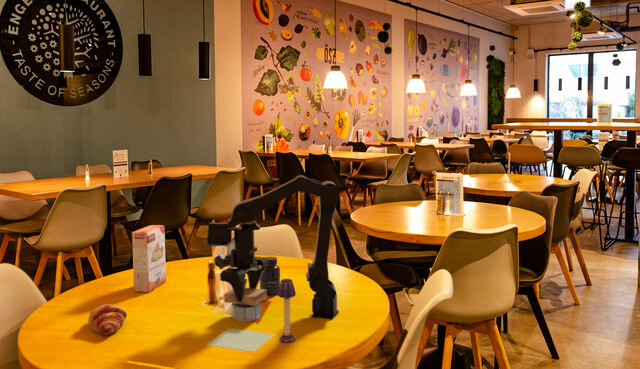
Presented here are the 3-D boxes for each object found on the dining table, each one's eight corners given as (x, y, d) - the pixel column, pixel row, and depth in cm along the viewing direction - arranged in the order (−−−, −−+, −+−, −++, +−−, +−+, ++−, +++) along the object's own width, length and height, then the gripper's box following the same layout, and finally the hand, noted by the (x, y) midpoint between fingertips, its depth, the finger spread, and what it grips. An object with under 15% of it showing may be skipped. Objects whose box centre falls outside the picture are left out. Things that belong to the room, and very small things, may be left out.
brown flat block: (266, 297, 166) (266, 289, 166) (255, 305, 159) (254, 297, 159) (237, 294, 169) (236, 286, 169) (224, 302, 163) (224, 293, 162)
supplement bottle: (271, 297, 184) (270, 261, 182) (255, 293, 188) (254, 258, 187) (284, 292, 189) (284, 257, 188) (269, 288, 193) (268, 254, 192)
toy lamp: (300, 341, 147) (299, 279, 145) (287, 347, 143) (286, 283, 141) (287, 337, 150) (286, 276, 148) (274, 342, 146) (273, 280, 144)
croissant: (96, 327, 169) (81, 306, 167) (127, 307, 172) (112, 286, 170) (99, 351, 150) (82, 328, 148) (133, 329, 153) (117, 306, 151)
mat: (274, 336, 151) (274, 334, 151) (253, 353, 139) (253, 351, 139) (229, 329, 156) (229, 328, 156) (205, 346, 144) (205, 344, 144)
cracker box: (150, 293, 190) (147, 232, 188) (133, 292, 191) (130, 232, 189) (167, 281, 204) (165, 224, 201) (152, 280, 205) (149, 224, 202)
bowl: (264, 315, 167) (264, 300, 167) (252, 324, 160) (251, 309, 159) (241, 312, 170) (240, 298, 170) (227, 321, 163) (227, 306, 162)
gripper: (236, 236, 174) (237, 286, 176) (202, 250, 157) (204, 304, 158) (268, 239, 170) (269, 289, 172) (237, 253, 153) (239, 308, 154)
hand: (246, 297), depth 164 cm, fingers closed on brown flat block, 7 cm apart
